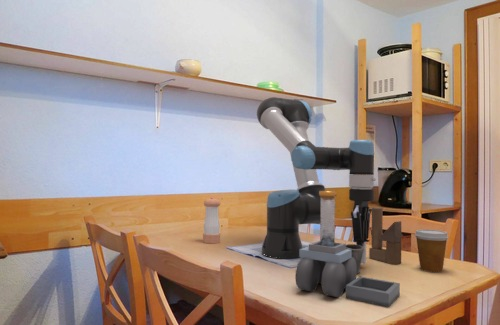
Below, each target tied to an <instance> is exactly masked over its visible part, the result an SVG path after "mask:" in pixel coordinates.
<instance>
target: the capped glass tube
mask: <svg viewBox="0 0 500 325" xmlns="http://www.w3.org/2000/svg"><path fill="white" fill-rule="evenodd" d="M319 196H321V223H320V226H319V227H320V231H319V232H320V233H319V234H320V240H319V241H320V245H321V246H328V247H334V245H335V238H336V237H335V235H336V233H335V228H336V226H335V225H336V222H335V221H336V220H335V219H336V216H335V214H336V201H335V200H336V197H337V190H335V191H334V190H325V191H319Z"/></svg>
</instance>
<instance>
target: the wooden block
mask: <svg viewBox="0 0 500 325" xmlns="http://www.w3.org/2000/svg"><path fill="white" fill-rule="evenodd" d="M383 210H384V209H383V208H382V207H378V206H376V207H375V206H374V207H371V247H370V248H369V250H368V251H369V252H368V253H369V254H368V255H369V256H368V257H369V259H371V260H376V261H380V262H384V263H387V264H390V265H394V266H395V265H400V264H402V221H401V220H400V221H393V223H392V224H391V225H390V226H389V227H388V228H387V229H386V230H385V231H384V232H383ZM383 242H385V248H383Z"/></svg>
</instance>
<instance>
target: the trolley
mask: <svg viewBox="0 0 500 325" xmlns="http://www.w3.org/2000/svg"><path fill="white" fill-rule="evenodd" d="M346 245H347V244H346V243H343V242H335V245H334V247H328V246H321V245H320V240H317V241H315V242H311V243H310V244H309V243H308V246H305V247H303V248H302V249H300V251H299V257H298V258H300V260H299V261H298V263H297V265H296V268H295V284H296V287H297V289H299V290H301V291H306V292H311V293H312V292H315V290H316V289H317V288H318V284H321V289H322V292H323V294H324V295H325V296H330V297H334V298H340V297H341V296H342V295H343V294H344V290H345V289H346V285H347V284H349V283H350V282H352V281H353V280H355V279H356V278H357V274H356V273H357V266H356V261H355V259H354V258H353V257H352V250H348V249H346Z"/></svg>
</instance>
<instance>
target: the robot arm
mask: <svg viewBox="0 0 500 325" xmlns="http://www.w3.org/2000/svg"><path fill="white" fill-rule="evenodd" d="M256 117H257V121H258V122H259V124H260V125H261V126H262V128H264V129H265V130H269V131H270V132H271V133H272V134H273V135H274V137H275V138H276V139H278V141H279V142H280V143H281V144H282V145H283V146H284V147H285V148H286V150H288V152H289V154H290V161H291V163H292V168H293V173H294V176H295V180H296V189H281V190H275V191H271V192H270V193H268V195H267V198H266V200H267V201H266V233H265V234H266V235H265V237H264V240H263V243H262V246H261V254H262V255H263V254H265V255H267V256H271V257H270V258H272V257H277V258H276V259H284V258H287V259H296V258H297V257H298V258H300V257H299V251H300V249H302V248H304V246H303V243H302V240H301V236H300V233H299V231H300V230H299V227H300V225H313V224H315V225H319V224H321V196H319V191H326V189H325V188H326V186H325V185H324V184H322V183H321V182H320V180H319V176H318V172H317V170H327V171H328V170H330V171H331V170H333V171H344V170H348V171H349V174H348V175H349V176H348V178H349V180H348V187H349V193H348V194H349V197H348V198H349V200H350V201H352V202H353V201H354V205H353V209H352V211H350V217H351V223H352V224H351V225H352V236H353V237H352V238H353V243H355V245H361V246H363V247H364V250H363V254H362V259H361V264H363V265H364V264H367V243H369V242H370V239H369V234H370V223H371V222H370V220H371V215H372V208H370V206H369V202H373V201H374V199H375V196H374V195H375V192H374V191H375V190H374V189H373V188H374V184H375V181H376V178H374V177H375V176H374V174H375V146H374V141H373V140H370V139H352V140H350V141H349V145H348V147H325V146H316V145H314V144H313V143H312V142H311V141H310V140H309V136H308V133H307V130H308V129H309V126H310V123H311V122H312V118H311V117H312V109H311V106H310V105H309V104H308V102H306V101H304V100H300V99H297V98H296V99H295V98H294V99H290V98H283V97H276V96H275V97H274V96H273V97H268V98H265V99H264V100H263V101H261V102H260V104H259V105H258V107H257V110H256ZM267 256H266V257H267ZM298 258H297V259H298Z"/></svg>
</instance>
